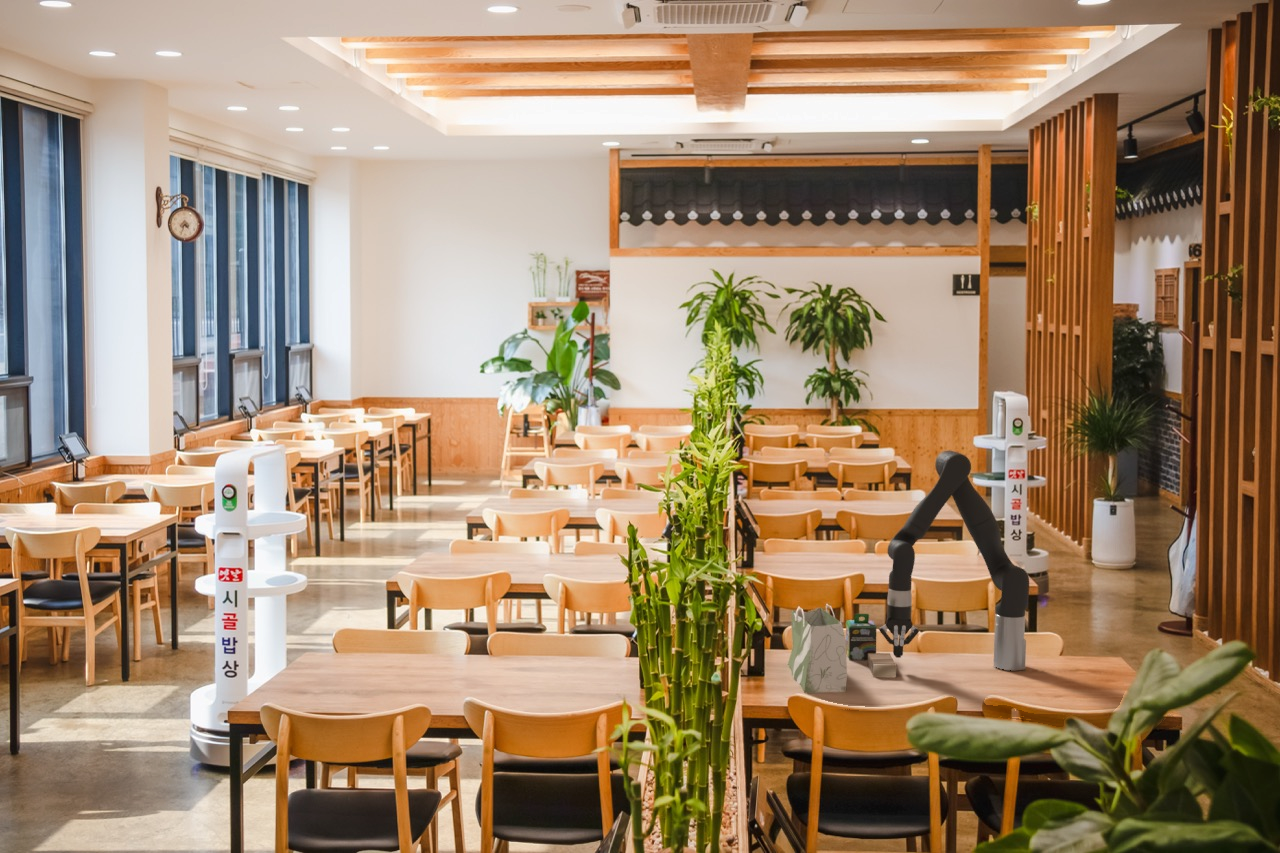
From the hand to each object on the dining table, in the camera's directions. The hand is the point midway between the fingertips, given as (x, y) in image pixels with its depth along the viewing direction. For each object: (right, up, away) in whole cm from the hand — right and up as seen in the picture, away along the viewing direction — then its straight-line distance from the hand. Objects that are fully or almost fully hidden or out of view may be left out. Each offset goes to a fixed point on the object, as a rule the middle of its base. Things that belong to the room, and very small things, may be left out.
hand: (898, 656), depth 413 cm
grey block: (-5, -3, -6) cm, 9 cm away
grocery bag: (-27, -6, -7) cm, 29 cm away
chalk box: (-9, -3, +18) cm, 20 cm away
